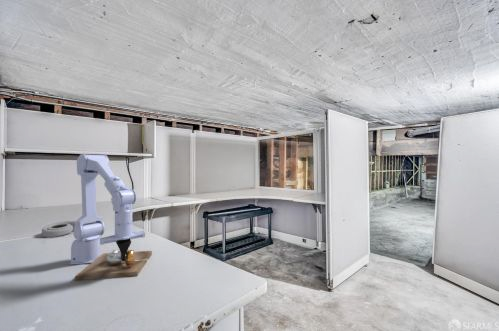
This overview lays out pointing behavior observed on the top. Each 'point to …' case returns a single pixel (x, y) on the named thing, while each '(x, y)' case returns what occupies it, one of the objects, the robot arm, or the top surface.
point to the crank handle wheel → (115, 258)
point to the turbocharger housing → (58, 229)
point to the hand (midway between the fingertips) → (123, 260)
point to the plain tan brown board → (113, 267)
